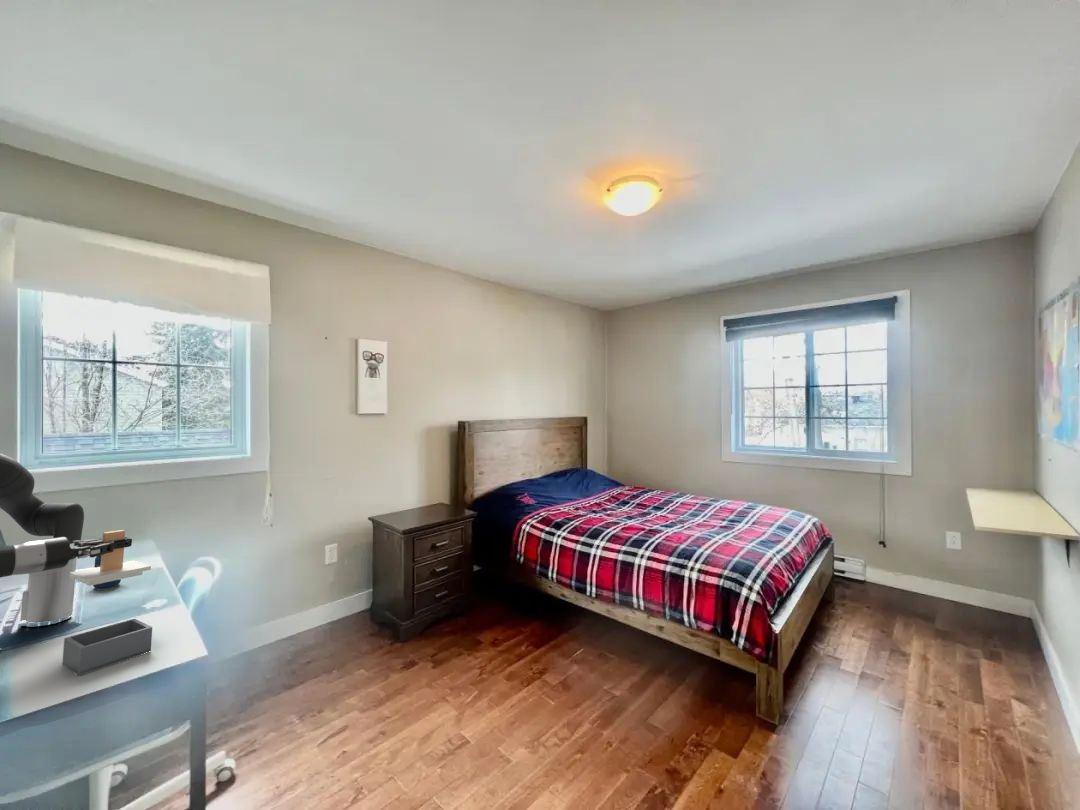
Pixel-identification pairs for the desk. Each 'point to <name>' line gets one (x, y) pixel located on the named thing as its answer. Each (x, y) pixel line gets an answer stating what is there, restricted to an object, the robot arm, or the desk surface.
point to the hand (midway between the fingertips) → (128, 541)
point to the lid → (111, 565)
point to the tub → (106, 646)
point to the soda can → (107, 584)
